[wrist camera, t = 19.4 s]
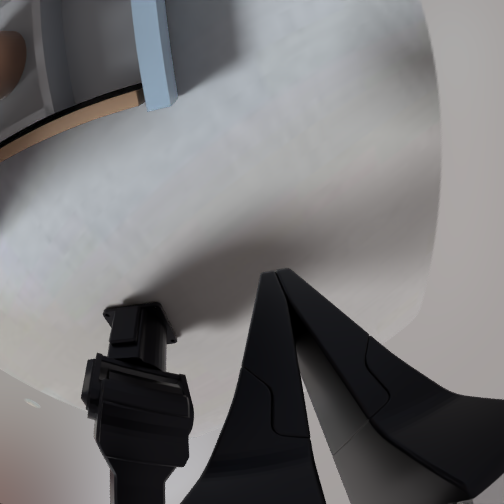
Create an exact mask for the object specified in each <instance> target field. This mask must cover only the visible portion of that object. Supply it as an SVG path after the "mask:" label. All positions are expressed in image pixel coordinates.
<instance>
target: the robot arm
mask: <svg viewBox="0 0 504 504" xmlns="http://www.w3.org/2000/svg"><path fill="white" fill-rule="evenodd" d="M103 316H104V317H105V319H106V320H107V322H108V323H109V325H110V326H111V333H110V339H109V342H110V344H109V350H108V356H107V357H106V356H103V355H102V354H100V353H97V355H96V359H90V360H88V362H87V367H86V373H85V378H84V383H83V389H82V395H81V399H82V401H83V402H84V404H85V405H86V410H88V418H90V419H94V420H95V424H94V439H95V441H96V443H97V445H98V447H99V449H100V451H101V453H102V455H103V456H104V459H105V460H106V462H107V464H108V466H109V468H110V504H165V482H166V480H167V479H168V478H169V476H170V475H171V473H172V472H173V471H174V470H175V468H176V467H184V466H185V464H186V462H187V460H188V458H189V444H188V437H189V434H190V432H191V430H192V426H193V421H194V409H193V404H192V400H191V396H190V392H189V388H188V384H187V380H186V376H185V375H183V374H174V373H169V372H166V345H167V344H173V343H176V342H177V337H176V335H175V333H174V331H173V329H172V327H171V325H170V323H169V321H168V319H167V317H166V315H165V312H164V310H163V308H162V306H161V304H160V303H157V302H153V303H147V304H140V305H133V306H126V307H119V308H112V309H105V310H104V312H103ZM300 373H301V375H300ZM301 376H302V379H303V381H304V384H305V386H306V389H307V392H308V394H309V397H310V399H311V402H312V404H313V407H314V410H315V412H316V414H317V417H318V420H319V422H320V425H321V428H322V430H323V433H324V435H325V438H326V441H327V443H328V446H329V448H330V451H331V453H332V455H333V459H334V461H335V464H336V467H337V469H338V472H339V474H340V477H341V480H342V482H343V485H344V487H345V490H346V492H347V495H348V497H349V500H350V503H351V504H504V400H502V399H491V398H481V397H472V396H464V395H460V394H456V393H454V392H451V391H449V390H447V389H445V388H443V387H441V386H440V385H438V384H437V383H435V382H434V381H432V380H431V379H429V378H428V377H426V376H425V375H423V374H422V373H420V372H419V371H417V370H416V369H414V368H413V367H411V366H410V365H408V364H406V363H405V362H404V361H402V360H401V359H400V358H398V357H397V356H395V355H394V354H393V353H391V352H390V351H389V350H388V349H386V348H385V347H384V346H383V345H381V344H380V343H379V342H378V341H376V340H375V339H374V338H373V337H372V336H369V334H368V333H367V332H366V331H364V330H363V329H362V328H361V327H360V326H358V325H357V324H356V323H355V322H354V321H353V320H351V319H350V318H349V317H348V316H347V315H345V314H344V313H343V312H342V311H341V310H339V309H338V308H337V307H336V306H335V305H333V304H332V303H331V302H330V301H328V300H327V299H326V298H325V297H324V296H322V295H321V294H320V293H319V292H318V291H316V290H315V289H314V288H313V287H312V286H310V285H309V284H308V283H307V282H306V281H304V280H303V279H302V278H301V277H299V276H298V275H297V274H296V273H295V272H293V271H292V270H291V269H289V268H284V269H278V270H276V271H268V272H263V273H261V275H260V280H259V285H258V289H257V294H256V299H255V304H254V309H253V314H252V318H251V323H250V328H249V333H248V338H247V342H246V347H245V352H244V356H243V361H242V367H241V369H240V374H239V379H238V383H237V386H236V390H235V394H234V398H233V401H232V404H231V407H230V409H229V412H228V415H227V418H226V420H225V423H224V425H223V428H222V430H221V433H220V435H219V438H218V440H217V443H216V445H215V448H214V450H213V453H212V455H211V457H210V459H209V462H208V464H207V466H206V468H205V470H204V471H203V473H202V475H201V477H200V478H199V480H198V481H197V482H196V484H195V485H194V486H193V488H192V489H191V490H190V492H189V493H188V494H187V496H186V497H185V498H184V500H183V501H182V502H181V503H180V504H326V501H325V498H324V494H323V490H322V487H321V483H320V480H319V476H318V472H317V469H316V465H315V461H314V456H313V451H312V445H311V440H310V431H309V425H308V418H307V412H306V406H305V400H304V393H303V387H302V381H301ZM0 504H1V503H0Z"/></svg>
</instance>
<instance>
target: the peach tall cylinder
mask: <svg viewBox="0 0 504 504" xmlns="http://www.w3.org/2000/svg"><path fill="white" fill-rule="evenodd" d="M26 53H27V52H26V44H25V40H24V38H23V37H22V35H21V34H19V33H18V32H16V31H0V100H2V99H4V98H6V97H7V96H8V95H9V94H10V93H11V92H12V91H13V90H14V88H15V87H16V85H17V83H18V82H19V80H20V78H21V75H22V73H23V70H24V67H25V62H26Z"/></svg>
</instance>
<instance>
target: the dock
mask: <svg viewBox="0 0 504 504" xmlns="http://www.w3.org/2000/svg"><path fill="white" fill-rule="evenodd" d="M144 102H145V96H144V91H143V88H142V89H138V90H135V91H131V92H128V93H124V94H121V95H118V96H115V97H112V98H109V99H106V100H103V101H100V102H97V103H94V104H92V105H89V106H86V107H84V108H81V109H79V110H76V111H74V112H71V113H69V114H66V115H64V116H62V117H60V118H57V119H55V120H53V121H51V122H49V123H46V124H44V125H42V126H40V127H38V128H36V129H34V130H32V131H30V132H28V133H26V134H24V135H23V136H21V137H19V138H17V139H15V140H14V141H12V142H10V143H8V144H7V145H5V146H3V147H2V148H0V162H2V161H4V160H6V159H7V158H9V157H11V156H13V155H15V154H17V153H19V152H20V151H22V150H24V149H26V148H28V147H30V146H32V145H34V144H36V143H39V142H41V141H43V140H45V139H47V138H49V137H52V136H54V135H56V134H59V133H61V132H63V131H66V130H68V129H71V128H73V127H76V126H78V125H81V124H83V123H86V122H89V121H92V120H94V119H97V118H100V117H103V116H106V115H109V114H112V113H115V112H119V111H122V110H125V109H129V108H132V107H136V106H139V105H141V104H142V103H144Z"/></svg>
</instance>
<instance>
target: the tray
mask: <svg viewBox="0 0 504 504" xmlns="http://www.w3.org/2000/svg"><path fill="white" fill-rule="evenodd" d="M0 31H16V32H18V33H19V34H21V35H22V37H23V38H24V40H25V44H26V52H27V53H26V62H25V67H24V70H23V73H22V75H21V78H20V80H19V82H18V83H17V85H16V87H15V88H14V90H13V91H12V92H11V93H10V94H9V95H8V96H7V97H6V98H4V99H2V100H0V143H1V142H3V141H5V140H6V139H8V138H10V137H11V136H13V135H15V134H17V133H18V132H20V131H22V130H24V129H26V128H28V127H29V126H31V125H33V124H35V123H37V122H39V121H41V120H43V119H45V118H47V117H50V116H52V115H54V114H56V113H58V112H60V111H63V110H65V109H67V108H70V107H72V106H75V105H77V104H79V103H82V102H85V101H87V100H90V99H92V98H95V97H98V96H101V95H104V94H106V93H109V92H112V91H116V90H119V89H122V88H125V87H128V86H132V85H135V84H139V83H142V85H143V91H144V96H145V102H146V107H147V112H149V111H153V110H157V109H161V108H165V107H170V106H172V104H173V103H174V102H175V101H176V100H177V99H178V93H177V87H176V81H175V74H174V68H173V61H172V54H171V47H170V39H169V32H168V24H167V15H166V7H165V0H0Z"/></svg>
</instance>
